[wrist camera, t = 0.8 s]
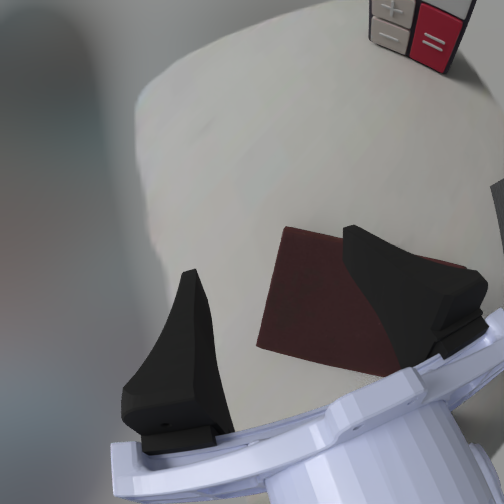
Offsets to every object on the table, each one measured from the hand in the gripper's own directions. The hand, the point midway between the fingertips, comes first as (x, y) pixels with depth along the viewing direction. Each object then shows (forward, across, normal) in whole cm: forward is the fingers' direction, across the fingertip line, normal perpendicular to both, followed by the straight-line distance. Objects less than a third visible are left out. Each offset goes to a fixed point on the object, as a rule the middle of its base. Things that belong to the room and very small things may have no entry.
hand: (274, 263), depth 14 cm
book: (+7, -10, +15) cm, 19 cm away
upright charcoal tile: (+22, -26, -9) cm, 35 cm away
